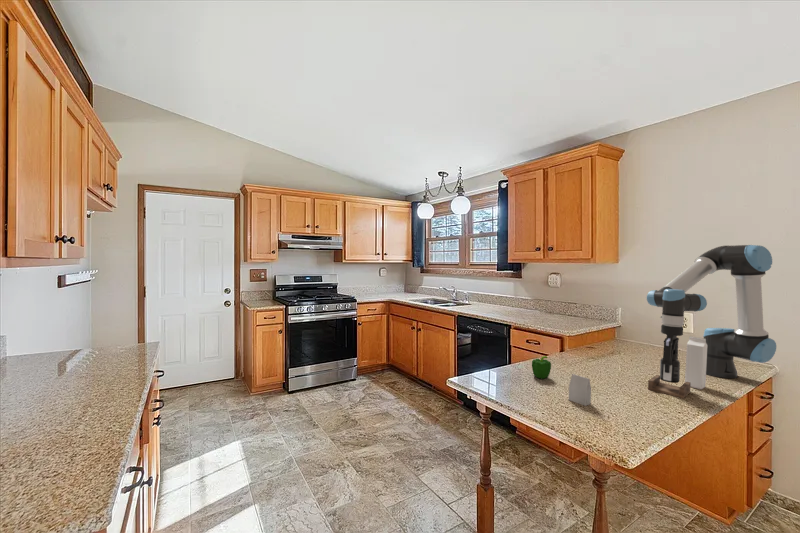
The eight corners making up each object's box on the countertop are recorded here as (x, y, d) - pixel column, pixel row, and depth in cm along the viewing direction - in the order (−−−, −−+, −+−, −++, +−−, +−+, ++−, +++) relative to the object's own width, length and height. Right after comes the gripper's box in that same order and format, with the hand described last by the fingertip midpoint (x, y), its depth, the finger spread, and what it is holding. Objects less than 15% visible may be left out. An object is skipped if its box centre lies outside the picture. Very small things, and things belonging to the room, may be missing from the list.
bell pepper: (530, 378, 168) (531, 357, 168) (531, 373, 176) (532, 352, 176) (550, 381, 165) (551, 359, 165) (550, 376, 173) (551, 355, 173)
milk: (701, 389, 160) (704, 339, 159) (684, 385, 165) (687, 337, 164) (705, 386, 164) (708, 338, 163) (688, 382, 169) (691, 335, 168)
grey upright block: (585, 405, 138) (586, 379, 138) (568, 399, 144) (569, 374, 143) (590, 403, 140) (591, 378, 140) (573, 398, 146) (574, 373, 146)
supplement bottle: (675, 379, 160) (677, 352, 159) (682, 384, 153) (683, 355, 153) (657, 377, 162) (658, 350, 161) (662, 381, 155) (664, 353, 155)
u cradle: (655, 383, 166) (656, 374, 166) (690, 391, 157) (690, 382, 157) (647, 389, 158) (648, 380, 158) (683, 398, 149) (684, 388, 149)
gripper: (667, 321, 166) (665, 371, 167) (655, 326, 153) (652, 380, 154) (688, 324, 161) (685, 376, 161) (677, 329, 148) (674, 385, 148)
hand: (669, 378), depth 157 cm, fingers closed on supplement bottle, 7 cm apart
